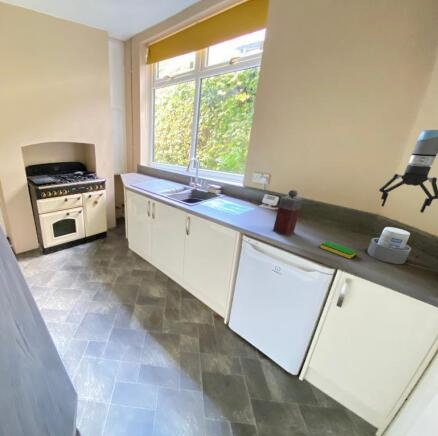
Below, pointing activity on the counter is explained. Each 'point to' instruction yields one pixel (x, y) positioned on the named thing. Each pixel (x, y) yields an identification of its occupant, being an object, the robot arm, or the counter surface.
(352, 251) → the dish sponge
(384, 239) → the supplement tub
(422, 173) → the robot arm
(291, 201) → the glass decanter
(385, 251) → the gray round bowl
